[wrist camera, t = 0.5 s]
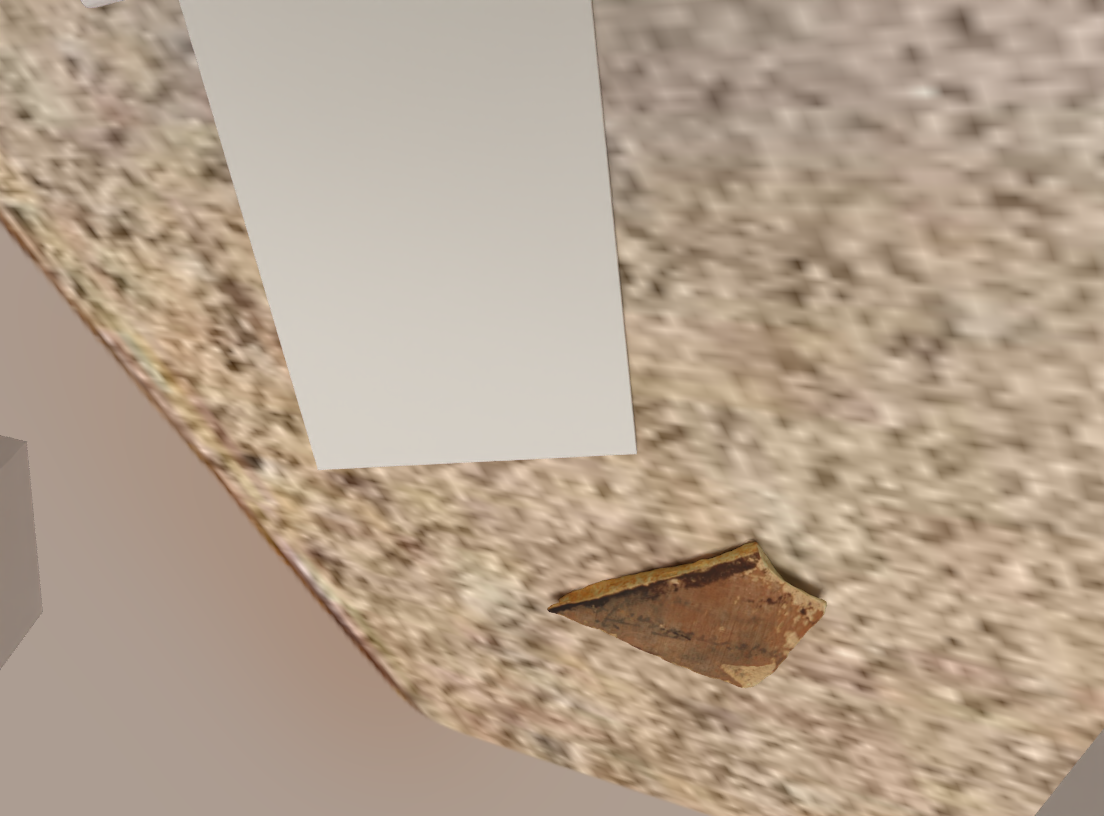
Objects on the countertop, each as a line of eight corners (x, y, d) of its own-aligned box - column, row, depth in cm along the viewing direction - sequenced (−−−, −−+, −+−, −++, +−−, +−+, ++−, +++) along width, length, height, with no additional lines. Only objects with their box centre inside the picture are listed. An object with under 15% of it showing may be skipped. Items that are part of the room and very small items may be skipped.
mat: (179, -17, 35) (174, -15, 34) (584, -69, 33) (584, -68, 32) (320, 464, 45) (318, 469, 44) (636, 448, 43) (636, 453, 42)
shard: (549, 589, 48) (545, 615, 46) (623, 473, 44) (621, 497, 43) (749, 674, 50) (752, 702, 48) (837, 569, 46) (843, 596, 44)
